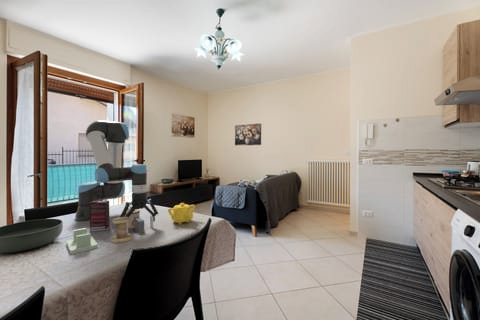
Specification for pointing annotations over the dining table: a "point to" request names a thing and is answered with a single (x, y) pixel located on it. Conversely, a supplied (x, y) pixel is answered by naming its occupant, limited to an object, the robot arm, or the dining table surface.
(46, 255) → the dining table surface
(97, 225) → the supplement box
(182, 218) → the teapot
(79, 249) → the notch board
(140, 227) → the lead tab
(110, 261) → the dining table surface
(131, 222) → the teacup with lid
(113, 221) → the bobbin
